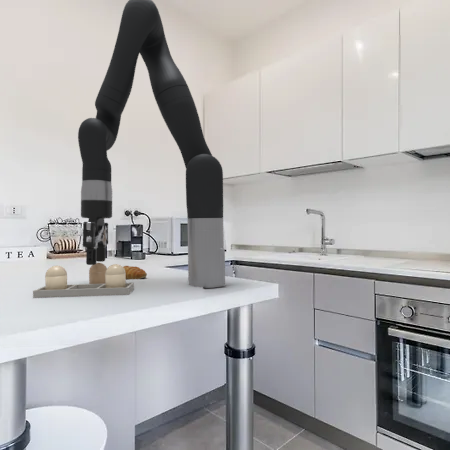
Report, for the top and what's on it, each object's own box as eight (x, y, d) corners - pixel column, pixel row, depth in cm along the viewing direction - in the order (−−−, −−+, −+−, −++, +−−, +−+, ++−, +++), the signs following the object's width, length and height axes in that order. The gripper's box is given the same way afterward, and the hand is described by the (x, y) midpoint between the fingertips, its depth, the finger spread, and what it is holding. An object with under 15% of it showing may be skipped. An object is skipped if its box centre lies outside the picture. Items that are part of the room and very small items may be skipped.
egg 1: (70, 291, 80) (69, 264, 80) (63, 295, 75) (62, 266, 75) (50, 292, 79) (50, 264, 79) (42, 296, 75) (41, 267, 75)
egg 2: (109, 286, 90) (109, 261, 90) (105, 289, 86) (104, 263, 86) (92, 286, 90) (91, 262, 90) (87, 289, 86) (86, 264, 86)
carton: (134, 291, 82) (134, 282, 82) (128, 296, 75) (128, 287, 75) (47, 293, 81) (46, 285, 81) (33, 300, 74) (33, 290, 74)
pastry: (152, 278, 104) (152, 266, 104) (134, 281, 99) (134, 268, 99) (132, 276, 110) (132, 264, 110) (114, 279, 104) (114, 266, 104)
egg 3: (127, 290, 81) (127, 262, 81) (123, 293, 77) (123, 264, 77) (108, 290, 81) (107, 263, 81) (103, 294, 76) (102, 265, 76)
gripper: (104, 197, 81) (104, 266, 81) (117, 201, 96) (117, 260, 95) (71, 196, 81) (71, 266, 81) (90, 201, 95) (89, 260, 95)
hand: (96, 262), depth 88 cm, fingers open, 8 cm apart
